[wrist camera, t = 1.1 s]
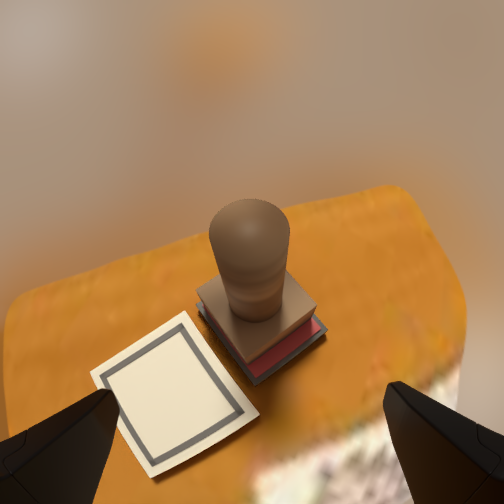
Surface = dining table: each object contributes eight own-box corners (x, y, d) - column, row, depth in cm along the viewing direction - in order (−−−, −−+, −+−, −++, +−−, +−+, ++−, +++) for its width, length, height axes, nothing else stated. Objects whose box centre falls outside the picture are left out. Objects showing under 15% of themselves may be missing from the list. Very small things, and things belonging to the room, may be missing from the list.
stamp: (311, 318, 22) (344, 239, 13) (248, 365, 20) (231, 321, 11) (264, 264, 25) (261, 165, 15) (203, 305, 23) (161, 221, 14)
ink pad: (326, 332, 22) (328, 328, 22) (255, 386, 21) (254, 385, 20) (265, 262, 26) (265, 257, 25) (197, 307, 24) (195, 303, 23)
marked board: (260, 414, 19) (260, 414, 18) (155, 476, 17) (150, 478, 16) (187, 314, 24) (184, 310, 23) (95, 373, 21) (89, 371, 20)
